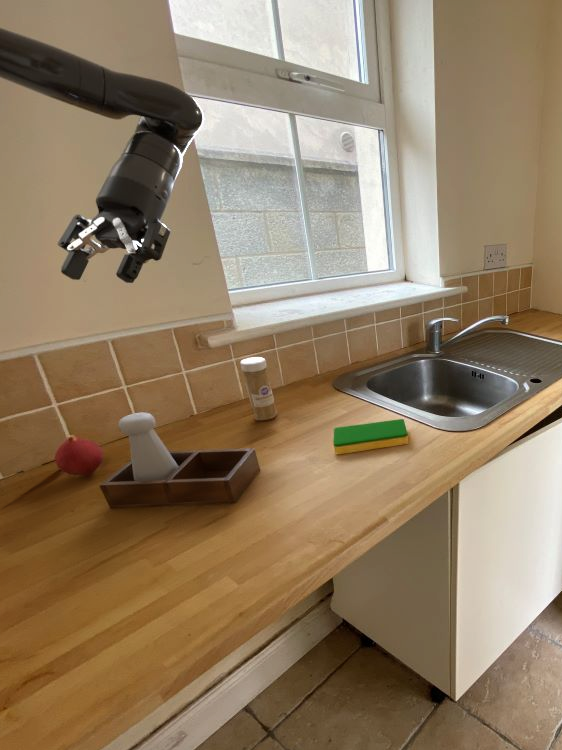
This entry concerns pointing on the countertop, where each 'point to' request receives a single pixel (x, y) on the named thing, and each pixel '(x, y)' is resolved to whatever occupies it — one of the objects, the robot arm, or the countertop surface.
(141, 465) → the salt shaker
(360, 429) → the dish sponge
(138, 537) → the countertop surface
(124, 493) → the divided wooden tray
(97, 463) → the onion
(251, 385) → the sprinkles bottle
